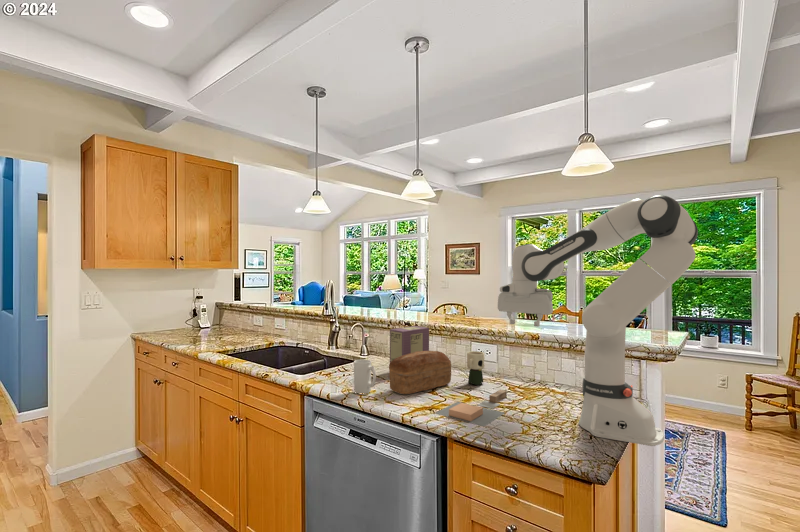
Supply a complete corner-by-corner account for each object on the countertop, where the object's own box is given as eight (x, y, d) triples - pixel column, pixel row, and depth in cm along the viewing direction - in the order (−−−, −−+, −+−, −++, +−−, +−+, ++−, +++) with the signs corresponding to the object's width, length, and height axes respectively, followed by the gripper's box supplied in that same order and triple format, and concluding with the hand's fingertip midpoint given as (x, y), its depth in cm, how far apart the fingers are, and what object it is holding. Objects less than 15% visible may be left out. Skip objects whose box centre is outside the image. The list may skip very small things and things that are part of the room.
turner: (496, 396, 156) (496, 388, 156) (511, 399, 152) (511, 391, 152) (476, 407, 144) (476, 398, 144) (492, 410, 140) (492, 402, 140)
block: (482, 408, 135) (470, 414, 129) (482, 414, 135) (470, 421, 129) (461, 402, 140) (448, 409, 134) (461, 409, 140) (448, 415, 134)
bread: (384, 391, 163) (384, 354, 163) (435, 379, 180) (435, 346, 180) (403, 398, 153) (403, 359, 153) (455, 385, 171) (455, 350, 171)
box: (403, 376, 184) (403, 331, 184) (389, 372, 191) (389, 329, 191) (428, 370, 195) (429, 327, 195) (415, 366, 202) (415, 325, 202)
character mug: (478, 388, 166) (478, 356, 166) (462, 385, 170) (462, 353, 170) (489, 382, 175) (489, 351, 175) (473, 379, 179) (473, 349, 179)
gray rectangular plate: (505, 414, 137) (505, 412, 137) (483, 428, 125) (483, 426, 125) (458, 403, 148) (458, 401, 148) (434, 414, 136) (434, 413, 136)
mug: (350, 392, 160) (350, 361, 160) (361, 388, 165) (361, 358, 166) (369, 397, 154) (369, 365, 154) (381, 393, 159) (381, 362, 159)
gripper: (555, 288, 150) (555, 326, 150) (502, 286, 163) (502, 321, 163) (549, 289, 145) (549, 328, 145) (495, 287, 158) (495, 323, 158)
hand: (524, 325), depth 154 cm, fingers open, 8 cm apart
